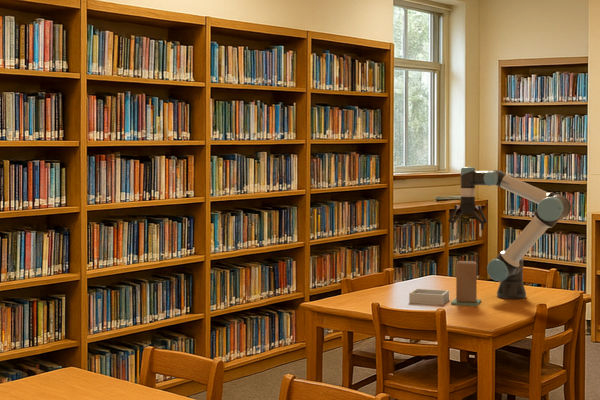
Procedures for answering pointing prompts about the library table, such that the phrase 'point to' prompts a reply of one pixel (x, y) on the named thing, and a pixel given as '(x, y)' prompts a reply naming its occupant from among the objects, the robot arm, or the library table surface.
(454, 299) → the mat
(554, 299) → the library table surface
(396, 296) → the library table surface
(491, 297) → the library table surface
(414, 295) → the bin
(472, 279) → the block
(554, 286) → the library table surface
